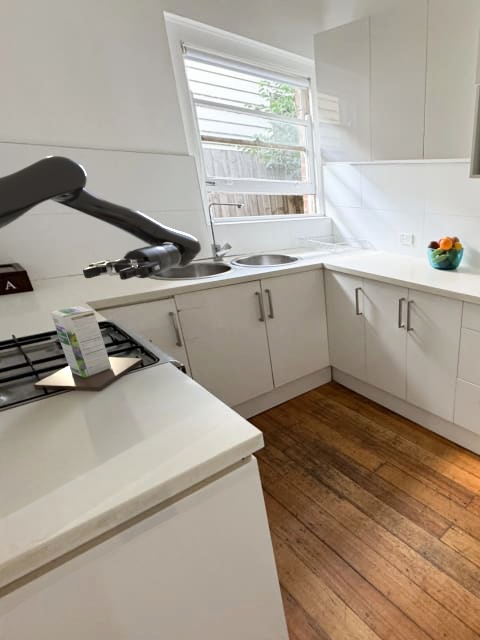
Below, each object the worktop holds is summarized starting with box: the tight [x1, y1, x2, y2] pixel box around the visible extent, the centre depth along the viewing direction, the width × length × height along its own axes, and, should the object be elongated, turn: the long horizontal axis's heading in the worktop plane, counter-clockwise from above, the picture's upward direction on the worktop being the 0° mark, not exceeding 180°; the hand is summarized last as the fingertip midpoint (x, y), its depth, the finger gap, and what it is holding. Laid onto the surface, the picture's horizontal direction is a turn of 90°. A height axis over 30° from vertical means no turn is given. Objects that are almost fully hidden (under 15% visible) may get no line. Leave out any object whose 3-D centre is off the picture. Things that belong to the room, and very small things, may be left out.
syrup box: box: [50, 305, 111, 378], centre depth 85 cm, size 6×6×14 cm
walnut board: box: [33, 356, 144, 392], centre depth 88 cm, size 14×14×1 cm
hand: (103, 274), depth 89 cm, fingers open, 8 cm apart
